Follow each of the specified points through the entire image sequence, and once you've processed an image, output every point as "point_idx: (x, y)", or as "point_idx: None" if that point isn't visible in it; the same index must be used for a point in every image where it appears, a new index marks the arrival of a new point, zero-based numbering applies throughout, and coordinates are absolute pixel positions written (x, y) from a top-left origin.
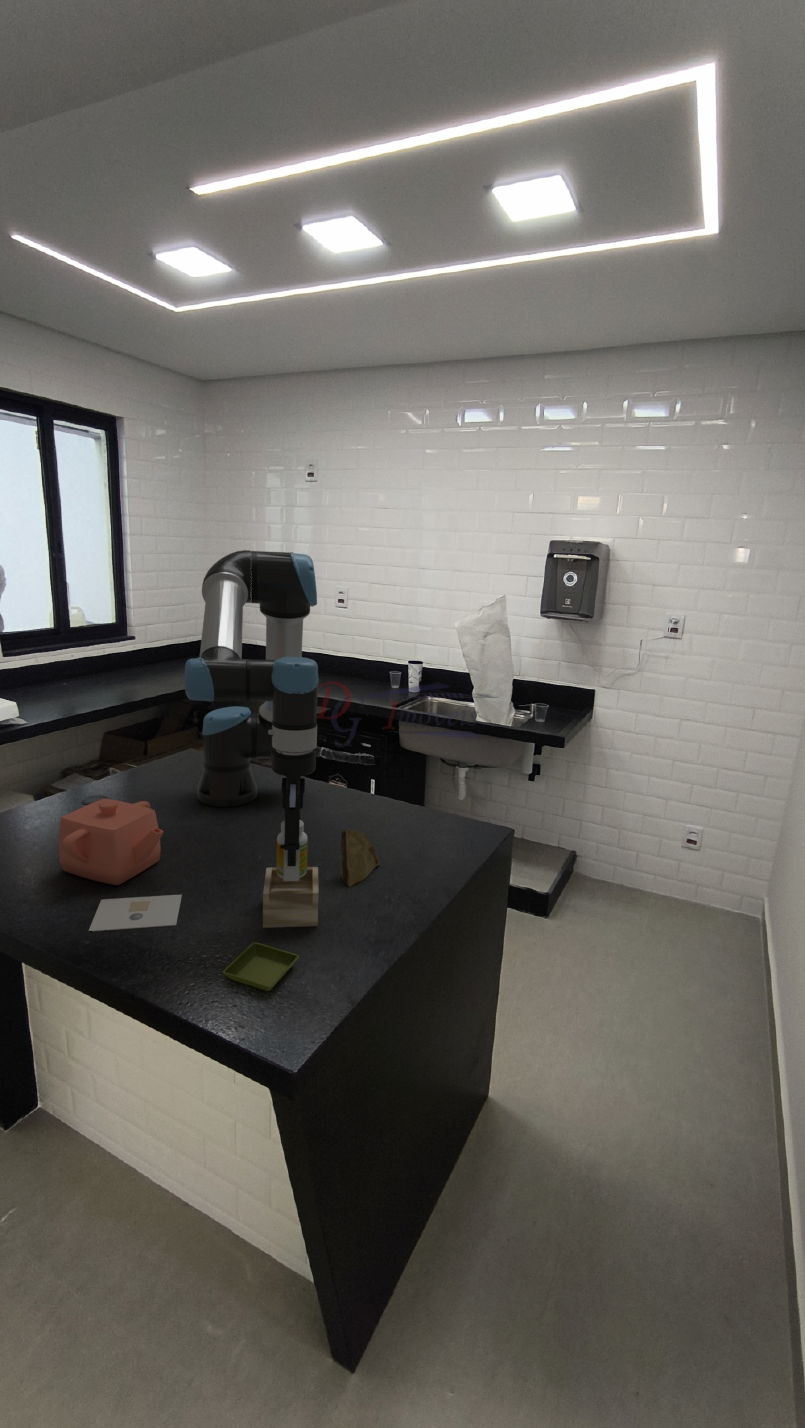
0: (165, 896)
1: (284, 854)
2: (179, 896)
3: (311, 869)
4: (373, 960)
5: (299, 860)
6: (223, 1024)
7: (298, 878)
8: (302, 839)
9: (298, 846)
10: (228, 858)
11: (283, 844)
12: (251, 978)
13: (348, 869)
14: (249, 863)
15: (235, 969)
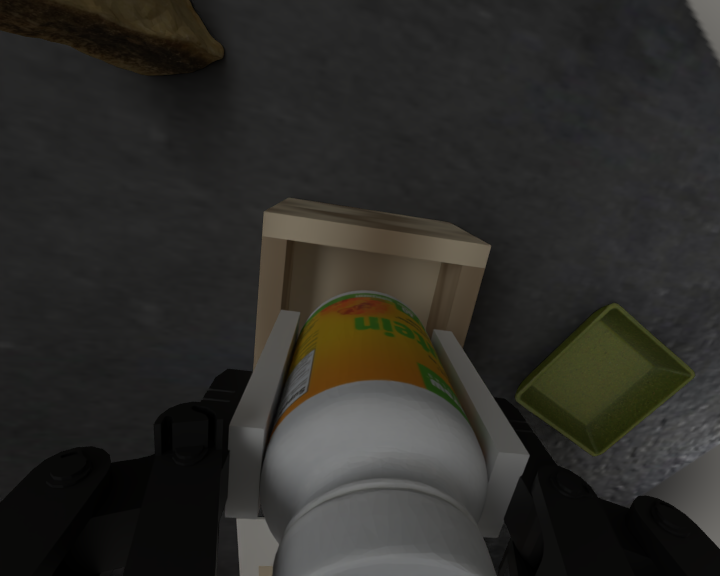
0: (242, 544)
1: None
2: (245, 522)
3: (286, 244)
4: (670, 85)
5: (486, 389)
6: (701, 439)
7: (454, 339)
8: (465, 450)
9: (703, 537)
10: (28, 428)
11: (508, 563)
12: (602, 394)
13: (170, 36)
14: (56, 376)
15: (575, 427)
